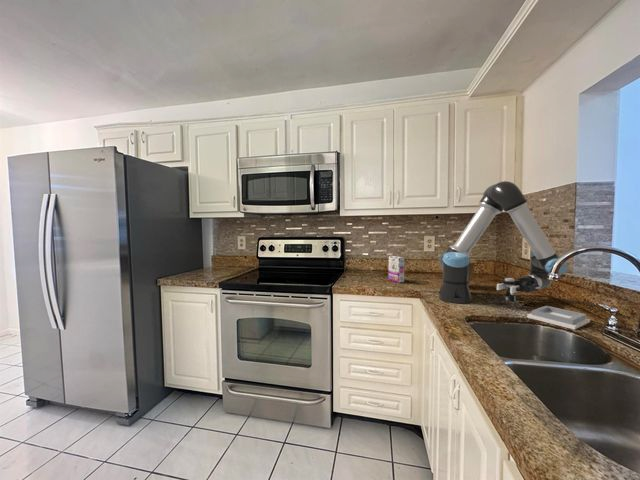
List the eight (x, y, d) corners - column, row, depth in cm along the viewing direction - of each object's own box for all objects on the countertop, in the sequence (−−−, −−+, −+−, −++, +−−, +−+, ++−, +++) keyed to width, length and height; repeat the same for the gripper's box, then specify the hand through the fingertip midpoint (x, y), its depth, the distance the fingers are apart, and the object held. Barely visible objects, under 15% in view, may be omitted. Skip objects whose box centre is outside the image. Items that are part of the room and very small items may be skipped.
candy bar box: (404, 282, 178) (405, 257, 177) (398, 283, 176) (399, 257, 175) (393, 279, 188) (394, 255, 187) (387, 279, 187) (388, 255, 185)
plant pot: (441, 284, 173) (442, 259, 172) (463, 283, 175) (464, 258, 174) (456, 290, 158) (457, 262, 157) (480, 289, 160) (481, 262, 159)
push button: (498, 298, 129) (498, 277, 129) (510, 298, 129) (509, 276, 129) (508, 302, 123) (507, 279, 122) (520, 301, 122) (519, 279, 122)
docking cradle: (527, 317, 113) (527, 310, 113) (543, 311, 121) (544, 304, 120) (574, 329, 100) (575, 321, 100) (589, 322, 108) (590, 314, 108)
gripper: (551, 295, 127) (526, 302, 115) (508, 286, 142) (483, 292, 131) (552, 279, 126) (527, 284, 115) (509, 272, 142) (484, 276, 130)
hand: (504, 288), depth 123 cm, fingers closed on push button, 5 cm apart
